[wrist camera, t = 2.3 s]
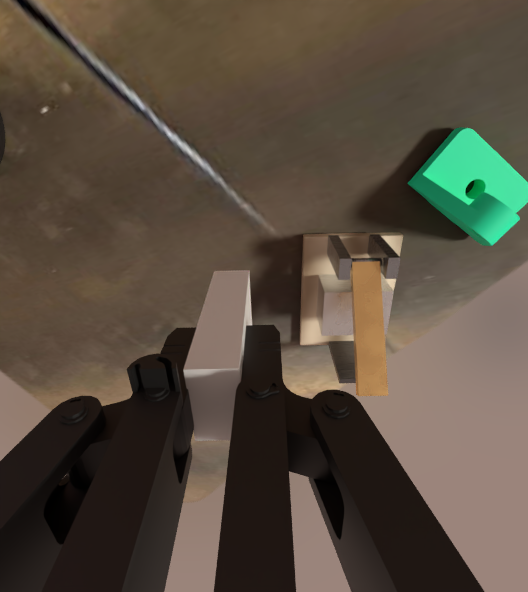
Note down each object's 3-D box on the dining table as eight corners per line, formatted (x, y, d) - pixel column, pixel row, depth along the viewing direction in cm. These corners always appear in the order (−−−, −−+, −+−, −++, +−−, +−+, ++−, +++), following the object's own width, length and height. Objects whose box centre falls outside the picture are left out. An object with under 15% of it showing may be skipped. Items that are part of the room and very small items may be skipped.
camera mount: (522, 187, 43) (593, 210, 34) (471, 238, 46) (523, 271, 37) (454, 122, 39) (512, 128, 30) (403, 181, 42) (443, 203, 33)
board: (299, 340, 52) (300, 345, 51) (303, 234, 45) (304, 237, 44) (382, 338, 52) (384, 343, 51) (399, 232, 45) (403, 235, 44)
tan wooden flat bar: (354, 394, 38) (356, 396, 37) (347, 259, 40) (350, 257, 39) (386, 393, 38) (390, 395, 37) (378, 258, 40) (381, 256, 39)
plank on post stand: (314, 344, 51) (322, 383, 44) (320, 235, 44) (332, 260, 37) (370, 343, 51) (388, 382, 44) (386, 234, 44) (411, 259, 37)
